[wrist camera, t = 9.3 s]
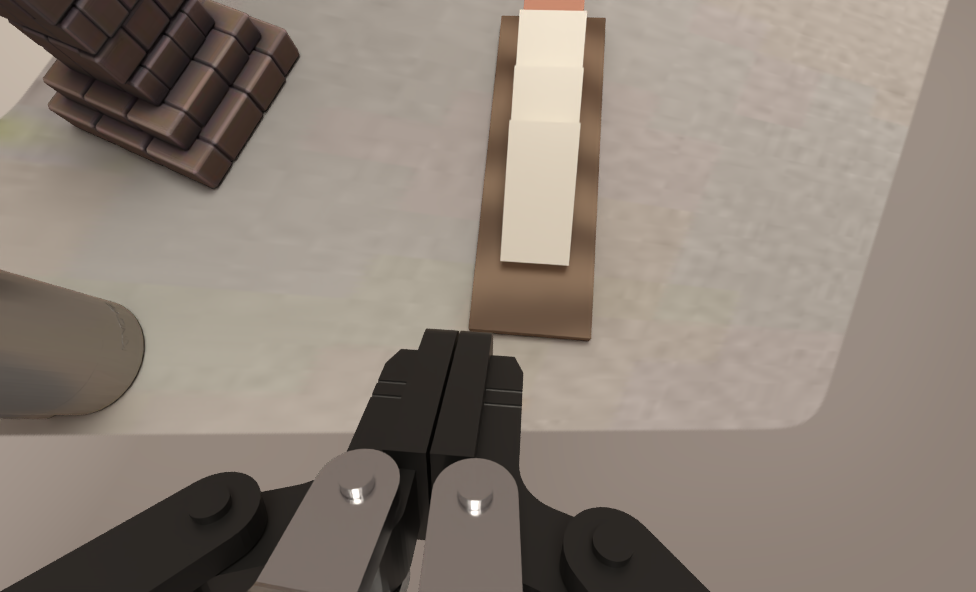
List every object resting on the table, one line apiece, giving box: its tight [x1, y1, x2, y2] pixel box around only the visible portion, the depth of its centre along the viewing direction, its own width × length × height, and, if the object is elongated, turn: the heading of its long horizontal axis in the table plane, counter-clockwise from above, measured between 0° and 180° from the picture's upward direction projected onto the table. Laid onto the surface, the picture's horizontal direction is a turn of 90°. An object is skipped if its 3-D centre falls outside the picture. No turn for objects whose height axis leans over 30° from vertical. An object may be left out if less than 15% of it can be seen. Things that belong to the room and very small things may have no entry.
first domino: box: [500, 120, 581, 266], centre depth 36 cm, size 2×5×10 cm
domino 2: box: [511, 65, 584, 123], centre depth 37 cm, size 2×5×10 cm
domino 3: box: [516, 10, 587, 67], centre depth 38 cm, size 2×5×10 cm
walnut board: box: [469, 16, 606, 341], centre depth 40 cm, size 28×9×1 cm, turn 175°
